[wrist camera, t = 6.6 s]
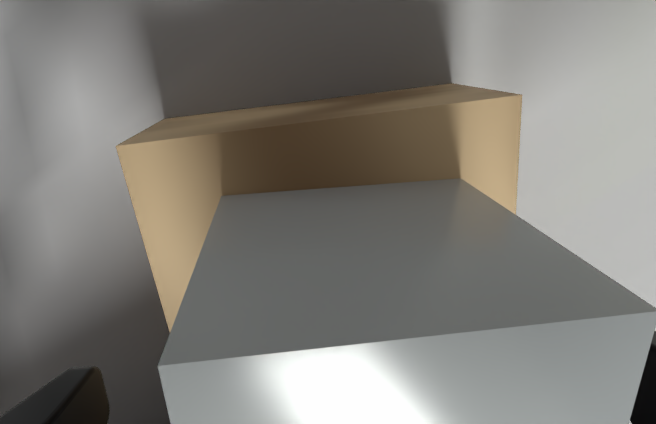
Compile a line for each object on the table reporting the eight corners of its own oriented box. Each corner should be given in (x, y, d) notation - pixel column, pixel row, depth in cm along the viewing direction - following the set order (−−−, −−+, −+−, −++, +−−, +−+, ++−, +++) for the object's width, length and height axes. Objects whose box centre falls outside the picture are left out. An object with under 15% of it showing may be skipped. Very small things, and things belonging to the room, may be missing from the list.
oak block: (447, 82, 12) (522, 94, 9) (449, 315, 15) (505, 401, 11) (167, 117, 12) (115, 145, 8) (223, 351, 15) (204, 453, 11)
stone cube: (460, 178, 9) (660, 311, 4) (446, 368, 11) (577, 606, 6) (221, 196, 9) (157, 365, 4) (247, 391, 10) (225, 669, 6)
